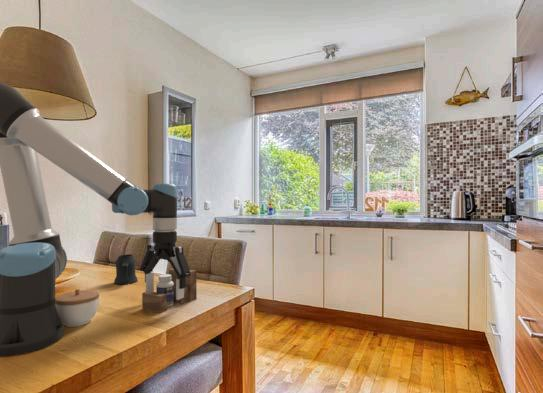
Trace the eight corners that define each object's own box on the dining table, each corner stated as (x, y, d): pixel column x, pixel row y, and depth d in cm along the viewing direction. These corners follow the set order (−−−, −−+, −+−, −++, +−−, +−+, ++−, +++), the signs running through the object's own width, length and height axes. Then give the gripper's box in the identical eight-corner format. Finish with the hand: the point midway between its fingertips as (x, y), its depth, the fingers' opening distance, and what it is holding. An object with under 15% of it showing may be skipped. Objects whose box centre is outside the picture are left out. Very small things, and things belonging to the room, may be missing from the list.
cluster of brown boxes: (162, 313, 96) (162, 280, 96) (140, 308, 101) (140, 276, 101) (196, 299, 110) (196, 270, 110) (175, 295, 114) (174, 267, 114)
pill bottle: (168, 308, 100) (168, 277, 100) (153, 307, 101) (153, 277, 102) (176, 303, 106) (176, 273, 106) (162, 302, 107) (162, 273, 107)
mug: (114, 280, 136) (114, 254, 136) (137, 278, 139) (137, 253, 139) (112, 287, 124) (112, 259, 125) (137, 285, 128) (137, 257, 128)
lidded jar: (104, 322, 89) (104, 289, 89) (59, 334, 82) (59, 297, 82) (92, 313, 97) (92, 282, 97) (50, 323, 89) (50, 289, 89)
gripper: (202, 231, 101) (201, 297, 101) (147, 228, 113) (146, 287, 113) (185, 233, 95) (185, 304, 94) (129, 229, 106) (128, 293, 106)
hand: (164, 295), depth 104 cm, fingers open, 13 cm apart
